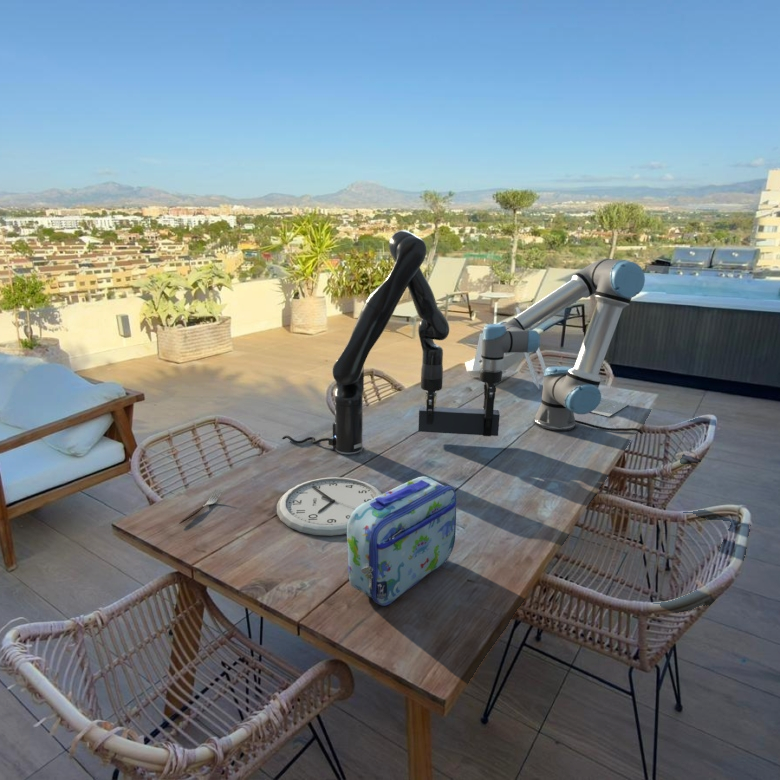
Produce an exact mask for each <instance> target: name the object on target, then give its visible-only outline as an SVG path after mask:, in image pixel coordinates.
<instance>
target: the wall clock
mask: <svg viewBox="0 0 780 780" xmlns="http://www.w3.org/2000/svg"><path fill="white" fill-rule="evenodd" d="M381 494H384V492H382V491H381V490H380V489H379V488H377V487H376V486H374V485H372V484H371V483H369V482H365V481H362V480H359V479H355V478H349V477H338V476H337V477H335V476H333V477H332V476H331V477H322V478H317V479H312V480H307V481H305V482H302V483H299V484H297V485H295V486H293V487H292V488H290V489H288V490H287V491H286V492H285V493H284V494H283V495H281V496H280V498H279V499H278V502H277V503H276V515H277V517H278V518H279V520H280V521H281V522H282V523H283V524H285V525H286V526H287V527H288V528H290V529H293V530H295V531H297V532H299V533H303V534H308V535H312V536H327V537H328V536H329V537H331V536H332V537H333V536H342V535H347V525H348V521H349V518H350V516H351V514H352V513H353V511H354V510H355V509H356V508H357V507H358V506H360V505H362V504H363V503H365V502H368V501H370V500H372V499H374V498H376V497H378V496H380V495H381Z"/></svg>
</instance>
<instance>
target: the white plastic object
mask: <svg viewBox="0 0 780 780" xmlns="http://www.w3.org/2000/svg"><path fill="white" fill-rule="evenodd" d="M515 311H516V314H517V315H519V314H520V313H522V311H521V310H520V307H519V306H517V307H515ZM482 335H483V332H480V333H479V336H478V341H477V346H476V351H475V355H474V358H473V359H471V360H468V361H465V362H464V365H465V370H466V372H467V374H468V375H469V377H471V378H472V377H480V370H481V362H479V360H482V359H481V354H482ZM535 352H536V355H537V359H538V362H539V364H540V367H541V370H542V373H543V374H544V373H545V370H546V368H547V366H546V364H545V363H546V362H545V360H544V358H543V355H542V351H541V348H540V347H539V348H538V350H537V351H535ZM533 353H534V352H528V353H526V352H521V353H504V359H503V369H502V370H501V371H502V375H503V374H505V373H506V372H507V370H508V369H509V368H511V367H512V366H513V365H515V364H517V363H518V362H520V361H521V360H522V359H523V358H524V357H525V360H526V363H527V367H528V370H529V372H530V376H531V379H532V382H533V384H534V386H535V387H536V388H537V389H538V390H540V383H539V380H538V377H537V374H536V371H535V368H534V365H533V361H532V359H531V356H530V354H533Z"/></svg>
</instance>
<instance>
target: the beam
mask: <svg viewBox="0 0 780 780" xmlns="http://www.w3.org/2000/svg"><path fill="white" fill-rule="evenodd" d="M426 409H427V407H426V405H425V406H424V405H419V409H418V430H417V432H419V433H436V434H452V435H454V434H455V435H471V436H472V435H473V436H483V428H484V419H483V417H485V409H484V408H469V407H468V408H467V407H466V408H465V407H444V406H435V408H434V414H433V424H427V414H426ZM428 411H432V409H428ZM500 417H501V414H500V410H499V409H493V419H492V428H491V436H490V437H499V429H500Z"/></svg>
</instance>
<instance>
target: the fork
mask: <svg viewBox="0 0 780 780" xmlns="http://www.w3.org/2000/svg"><path fill="white" fill-rule="evenodd" d="M222 493H223V491H221V490H219V489H217V490H216V489H215V490H214V492H213V493H212V495H211V496H210V498H209V499H208V500H207V501H206V502H205V504H203V505H202V506H200V507H198V508H196V509H194V510H192V512H191V513H189V514H188V515H187V516H186V517H185V518H183V519H182V520H181V521H180V522H179V523H178V525H180V524H182V523H184V522H186V521H187V520H189V519H191V518H192V517H194V516H195V515H197V514H198V513H199V512H201V511H202V510H203V509H204V508H205V507H206V506H210V505H215V504H216V503H217V502H218V500H219V498H220V497H221V495H222Z"/></svg>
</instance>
